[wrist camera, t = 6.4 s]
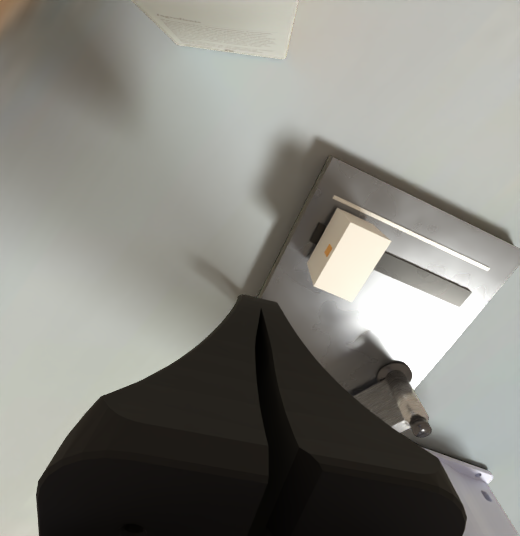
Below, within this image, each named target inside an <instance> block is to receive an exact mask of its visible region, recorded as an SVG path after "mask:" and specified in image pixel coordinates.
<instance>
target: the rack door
mask: <svg viewBox="0 0 520 536" xmlns="http://www.w3.org/2000/svg"><path fill="white" fill-rule="evenodd" d="M353 397H354V398H355V399H357V400H358V401H359V402H360V403H361V404H362V405H364V406H365V407H366V408H367V409H369V410H370V411H371V412H372V413H373V414H375V415H376V416H377V417H379V418H380V419H381V420H383V421H384V422H385V423H387V424H388V425H389V426H391V427H392V428H393V429H395V430H396V431H398V432H399V433H401V432H403V431H405V430H407V429H409V428H411V427H410V425H409V422H410V420H411V419H412V418H414V417H417V416H422V417H424V418H426V420H427V422H428V419H429V417H428V414H427V413H426V411H425V409H424V407H423V406H422V404H421V402H420V400H419V398H418V397H417V395H416V393H415V391H414V390H413V388H412V386H411V384H410V382H409V381H408V379H407V377H406V375H405V374H404V373H403V372H401V371H392V372H390V373H389V374H388V375H387V376H386V378H385V379H384V380H383V381H381V382H379V383H377V384H375V385H373V386H371V387H370V388H368V389H366V390H364V391H362V392H360V393H358V394H357V395H355V396H353Z"/></svg>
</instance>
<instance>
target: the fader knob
mask: <svg viewBox="0 0 520 536" xmlns="http://www.w3.org/2000/svg"><path fill="white" fill-rule="evenodd" d="M390 243H391V240H390V239H389V238H387V237H386V236H385V235H384V234H383V233H382V232H381V231H380V230H379V229H377V228H376V227H375V226H374V225H373V224H372V223H369V222H367V221H365V220H363V219H361V218H359V217H356V216H354V215H352V214H350V213H348V212H346V211H344V210H341V209H339V208H337V209H336V211H335V213H334V215H333V216H332V218H331V220H330V222H329V224H328V226H327V227H326V229H325V231H324V233H323V235H322V236H321V238H320V240H319V242H318V244H317V246H316V247H315V249H314V251H313V253H312V255H311V256H310V258H309V260H308V262H307V265H308V269H309V272H310V276H311V279H312V282H313V286H314V287H317V288H319V289H321V290H324V291H326V292H329V293H331V294H333V295H336V296H338V297H341V298H343V299H345V300H348V301H350V302H352V301H353V300H354V298H355V297H356V295H357V294H358V292H359V291H360V289H361V288H362V286H363V284H364V283H365V281H366V280H367V278H368V277H369V275H370V274H371V272H372V271H373V269H374V267H375V266H376V264H377V263H378V261H379V260H380V258H381V257H382V255H383V254H384V252H385V250H386V249H387V247H388V246H389V244H390Z"/></svg>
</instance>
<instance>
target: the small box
mask: <svg viewBox="0 0 520 536" xmlns="http://www.w3.org/2000/svg"><path fill="white" fill-rule="evenodd" d="M131 1H132V2H133V3H135V4H136V5H137V6H138V7H139V8H140V9H141V10H142V11H143V12H144V13H145V14H146V15H147V16H148V17H149V18H150V19H151V20H152V21H153V22H154V23H155V24H156V25H157V26H158V27H159V28H160V29H161V30H162V31H163V32H164V33H165V34H166V35H167V36H168V37H169V38H170V39H171V40H172V41H173V42H174V43H175V44H177V45H179V46H188V47H195V48H202V49H210V50H217V51H224V52H232V53H239V54H246V55H253V56H261V57H269V58H277V59H285V58H286V55H287V51H288V46H289V42H290V37H291V33H292V28H293V24H294V20H295V15H296V10H297V6H298V1H299V0H131Z"/></svg>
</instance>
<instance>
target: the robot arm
mask: <svg viewBox="0 0 520 536" xmlns="http://www.w3.org/2000/svg"><path fill="white" fill-rule="evenodd" d="M492 479H493V475H492V473H491V472H490V471H488V470H485V469H482V468H479V467H476V466H474V465H471V464H468V463H465V462H462V461H460V460H457V459H454V458H451V457H448V456H446V455H443V454H440V453H437V452H434V451H432V450H429V449H426V448H423V447H421V446H419V445H417V444H416V443H414V442H413V441H411V440H410V439H408V438H407V437H405V436H404V435H402V434H401V433H399V432H398V431H396V430H395V429H393V428H392V427H391V426H389V425H388V424H387V423H385V422H384V421H383V420H381V419H380V418H379V417H377V416H376V415H375V414H373V413H372V412H371V411H370V410H369V409H367V408H366V407H365V406H364V405H362V404H361V403H360V402H359V401H358V400H357V399H355V398H354V397H353V396H352V395H351V394H350V393H349V392H348V391H346V390H345V389H344V388H343V387H342V386H341V385H340V384H339V383H338V382H337V381H336V380H335V379H334V378H333V377H332V376H331V375H330V374H329V373H328V372H327V371H326V370H325V369H324V368H323V367H322V365H321V364H320V363H319V362H318V361H317V360H316V359H315V357H314V356H313V355H312V354H311V352H310V351H309V350H308V349H307V347H306V346H305V345H304V343H303V342H302V341H301V339H300V338H299V336H298V335H297V333H296V332H295V330H294V329H293V327H292V326H291V324H290V323H289V321H288V319H287V318H286V316H285V315H284V313H283V311H282V310H281V308H280V306H279V305H278V303H277V302H274V301H270V300H265V299H261V298H256V297H251V296H247V295H240V296H239V297H238V300H237V302H236V304H235V305H234V307H233V309H232V310H231V311H230V313H229V314H228V315H227V316H226V318H225V319H224V320H223V321H222V323H221V324H220V325H219V326H218V327H217V328H216V329H215V330H214V331H213V332H212V333H211V334H210V335H209V336H208V337H207V338H206V339H205V340H203V341H202V342H201V343H200V344H199V345H197V346H196V347H195V348H194V349H192V350H191V351H190V352H188V353H187V354H185V355H184V356H183V357H181V358H180V359H178V360H177V361H175V362H174V363H172V364H170V365H169V366H167V367H165V368H163V369H162V370H160V371H158V372H156V373H154V374H152V375H150V376H149V377H147V378H145V379H143V380H141V381H139V382H136V383H134V384H131V385H129V386H127V387H124V388H122V389H119V390H117V391H114V392H112V393H109V394H106V395H103V396H101V397H100V398H99V399H98V400H97V401H96V402H95V403H94V405H93V406H92V407H91V408H90V409H89V410H88V411H87V412H86V413H85V415H84V416H83V417H82V418H81V420H80V421H79V422H78V423H77V424H76V426H75V427H74V428H73V429H72V430H71V432H70V433H69V434H68V436H67V437H66V438H65V440H64V441H63V443H62V444H61V446H60V447H59V449H58V451H57V452H56V454H55V455H54V457H53V459H52V460H51V462H50V463H49V465H48V467H47V468H46V470H45V471H44V473H43V475H42V476H41V478H40V479H39V481H38V487H37V493H36V500H37V513H38V527H39V536H519V534H518V532H517V531H516V529H515V528H514V526H513V524H512V523H511V521H510V520H509V518H508V516H507V515H506V513H505V511H504V510H503V508H502V507H501V505H500V503H499V502H498V500H497V499H496V497H495V495H494V494H493V492H492V491H491V489H490V487H489V486H488V483H489V482H490V481H491V480H492Z"/></svg>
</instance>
